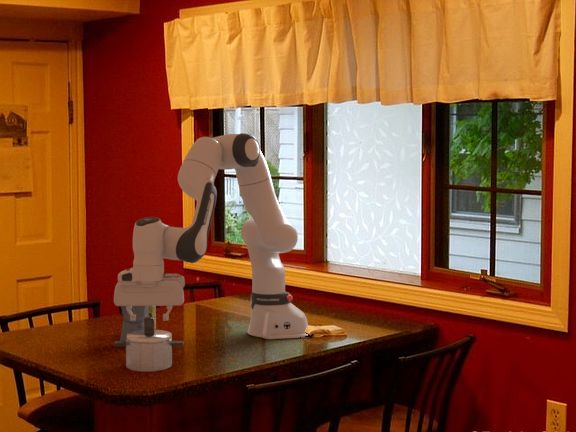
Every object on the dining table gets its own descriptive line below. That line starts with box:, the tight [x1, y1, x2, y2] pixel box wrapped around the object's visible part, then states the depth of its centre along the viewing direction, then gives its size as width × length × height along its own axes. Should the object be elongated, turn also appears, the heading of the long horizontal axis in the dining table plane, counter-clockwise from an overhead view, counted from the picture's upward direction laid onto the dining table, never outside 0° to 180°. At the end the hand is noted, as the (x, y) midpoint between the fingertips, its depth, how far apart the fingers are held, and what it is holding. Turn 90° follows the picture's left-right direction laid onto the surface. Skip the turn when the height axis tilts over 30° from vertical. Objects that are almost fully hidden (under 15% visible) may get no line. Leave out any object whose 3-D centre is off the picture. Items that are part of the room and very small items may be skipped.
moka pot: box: [117, 306, 148, 341], centre depth 301 cm, size 10×15×20 cm, turn 58°
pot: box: [113, 338, 185, 372], centre depth 276 cm, size 20×13×8 cm, turn 93°
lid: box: [127, 317, 173, 344], centre depth 275 cm, size 13×13×6 cm
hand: (149, 320), depth 275 cm, fingers open, 8 cm apart
